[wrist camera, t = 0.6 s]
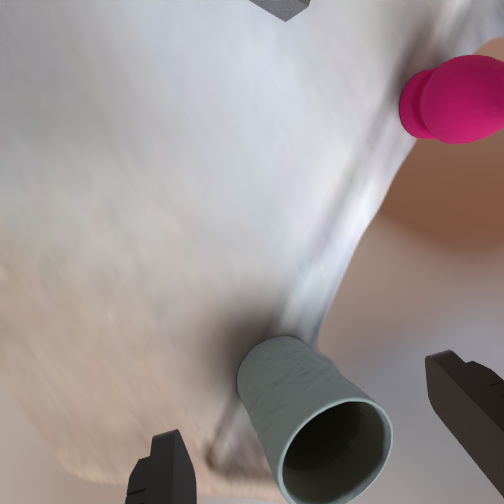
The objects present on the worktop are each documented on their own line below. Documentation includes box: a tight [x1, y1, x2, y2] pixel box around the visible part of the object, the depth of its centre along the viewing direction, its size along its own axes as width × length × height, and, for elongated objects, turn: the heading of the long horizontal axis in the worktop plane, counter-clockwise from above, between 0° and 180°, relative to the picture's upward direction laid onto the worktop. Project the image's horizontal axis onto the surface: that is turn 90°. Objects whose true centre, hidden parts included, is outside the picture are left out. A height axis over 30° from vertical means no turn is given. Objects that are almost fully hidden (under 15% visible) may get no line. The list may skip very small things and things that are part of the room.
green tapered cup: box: [237, 336, 393, 504], centre depth 36 cm, size 10×10×12 cm
